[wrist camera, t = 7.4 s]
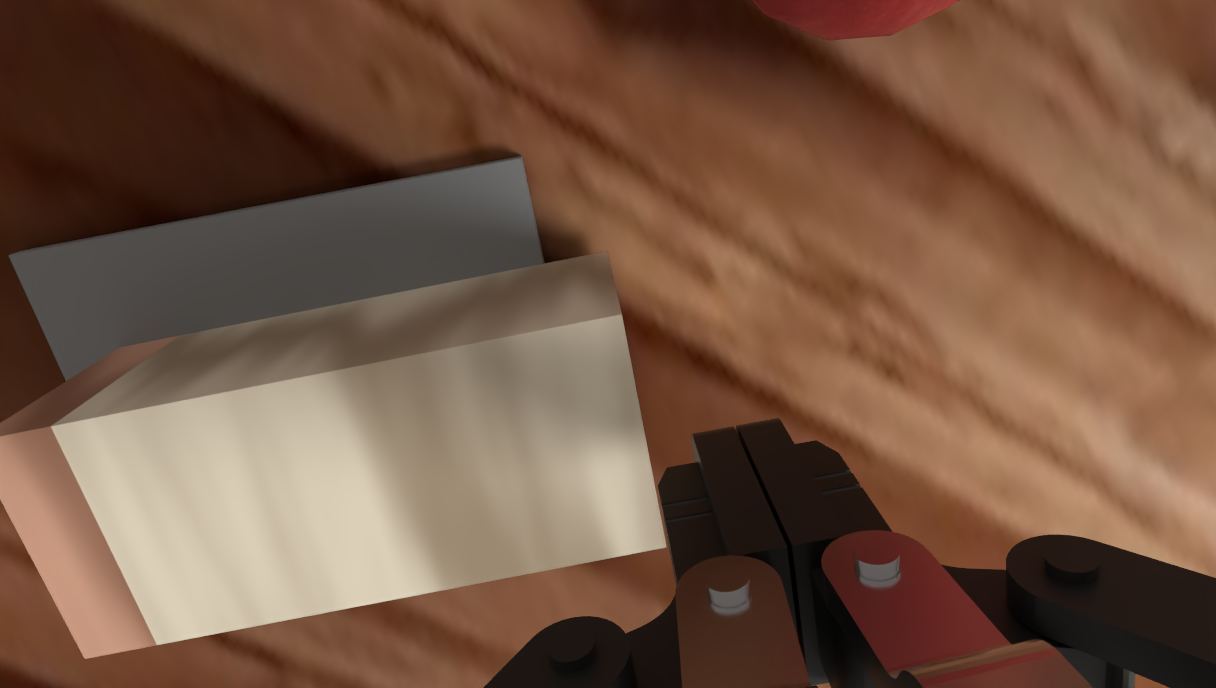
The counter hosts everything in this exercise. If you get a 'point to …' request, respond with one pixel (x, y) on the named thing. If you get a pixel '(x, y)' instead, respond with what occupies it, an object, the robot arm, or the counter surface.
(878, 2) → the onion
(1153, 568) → the robot arm
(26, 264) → the mat
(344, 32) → the counter surface
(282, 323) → the beech block
